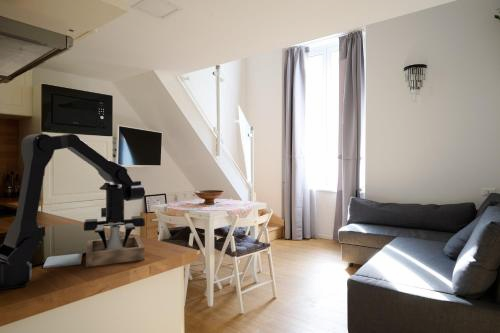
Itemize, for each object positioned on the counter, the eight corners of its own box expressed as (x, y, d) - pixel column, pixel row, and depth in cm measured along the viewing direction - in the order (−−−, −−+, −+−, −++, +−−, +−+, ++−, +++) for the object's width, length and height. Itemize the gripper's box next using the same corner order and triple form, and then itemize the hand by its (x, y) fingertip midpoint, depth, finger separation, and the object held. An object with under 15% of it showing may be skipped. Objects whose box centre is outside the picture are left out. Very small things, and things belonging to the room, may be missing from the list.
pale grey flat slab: (43, 268, 93) (43, 266, 93) (47, 258, 102) (47, 256, 102) (81, 263, 98) (81, 262, 98) (82, 255, 107) (82, 253, 107)
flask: (118, 259, 102) (118, 229, 102) (98, 258, 104) (98, 228, 104) (130, 253, 110) (130, 224, 109) (112, 251, 111) (112, 223, 111)
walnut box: (86, 266, 95) (86, 253, 95) (87, 251, 111) (87, 240, 111) (144, 259, 103) (144, 247, 103) (138, 246, 118) (138, 235, 118)
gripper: (141, 198, 118) (141, 239, 118) (85, 200, 110) (85, 245, 110) (145, 202, 108) (144, 247, 108) (83, 205, 99) (83, 253, 100)
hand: (115, 248), depth 107 cm, fingers closed on flask, 5 cm apart
